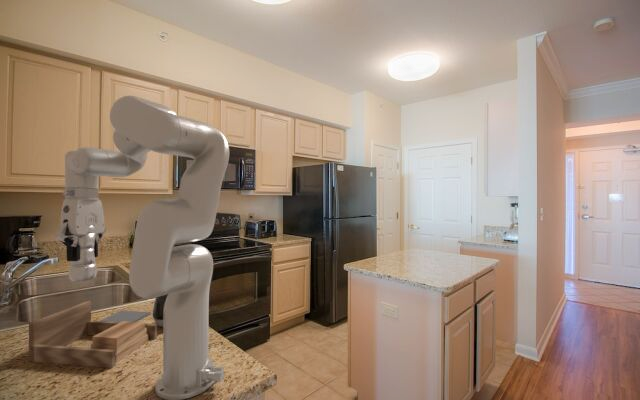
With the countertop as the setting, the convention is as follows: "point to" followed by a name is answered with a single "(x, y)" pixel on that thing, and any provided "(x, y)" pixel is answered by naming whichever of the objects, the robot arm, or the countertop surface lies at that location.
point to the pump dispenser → (159, 309)
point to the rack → (72, 338)
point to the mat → (126, 316)
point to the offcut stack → (122, 338)
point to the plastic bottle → (84, 258)
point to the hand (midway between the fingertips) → (82, 258)
